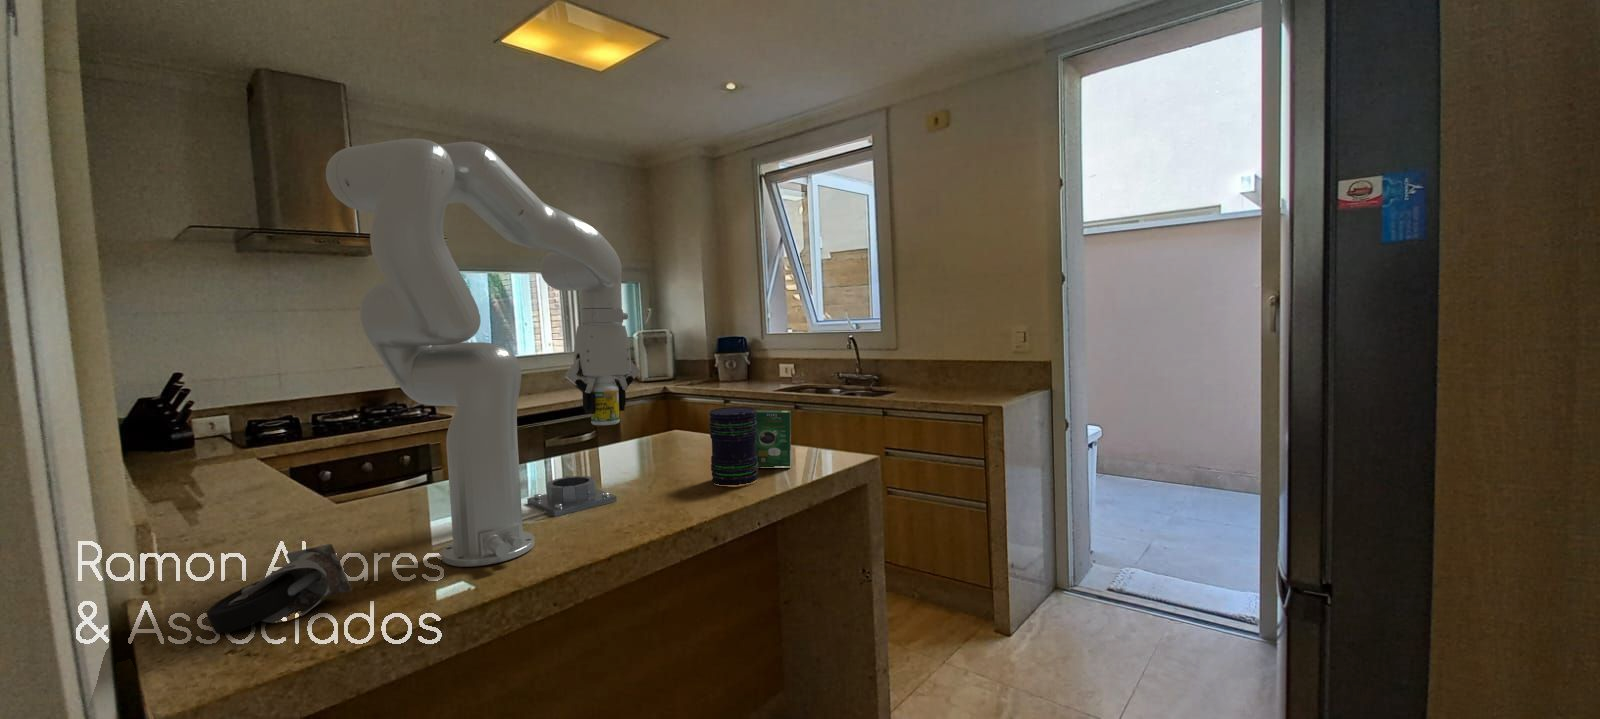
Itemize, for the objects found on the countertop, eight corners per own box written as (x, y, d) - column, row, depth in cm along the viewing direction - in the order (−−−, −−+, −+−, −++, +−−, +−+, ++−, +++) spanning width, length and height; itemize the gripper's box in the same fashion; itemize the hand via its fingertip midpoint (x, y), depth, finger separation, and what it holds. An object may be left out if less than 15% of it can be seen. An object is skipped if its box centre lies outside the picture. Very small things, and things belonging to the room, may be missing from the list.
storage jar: (702, 481, 134) (699, 411, 133) (740, 472, 140) (737, 405, 139) (729, 490, 126) (727, 416, 125) (768, 480, 133) (766, 410, 132)
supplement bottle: (620, 421, 127) (619, 373, 127) (618, 424, 122) (617, 375, 122) (592, 422, 126) (591, 374, 126) (589, 426, 121) (587, 375, 120)
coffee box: (792, 466, 145) (791, 409, 144) (791, 469, 142) (790, 411, 141) (757, 466, 146) (756, 409, 145) (755, 469, 143) (754, 411, 142)
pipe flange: (616, 501, 121) (615, 480, 120) (554, 516, 112) (553, 494, 112) (587, 490, 129) (586, 470, 129) (527, 503, 121) (526, 482, 121)
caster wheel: (204, 655, 73) (280, 603, 83) (288, 638, 71) (355, 587, 81) (178, 604, 72) (259, 557, 81) (263, 586, 70) (335, 541, 80)
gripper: (632, 319, 132) (634, 406, 133) (550, 319, 120) (553, 414, 121) (651, 318, 126) (653, 409, 127) (567, 318, 115) (570, 418, 115)
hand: (604, 410), depth 124 cm, fingers closed on supplement bottle, 5 cm apart
